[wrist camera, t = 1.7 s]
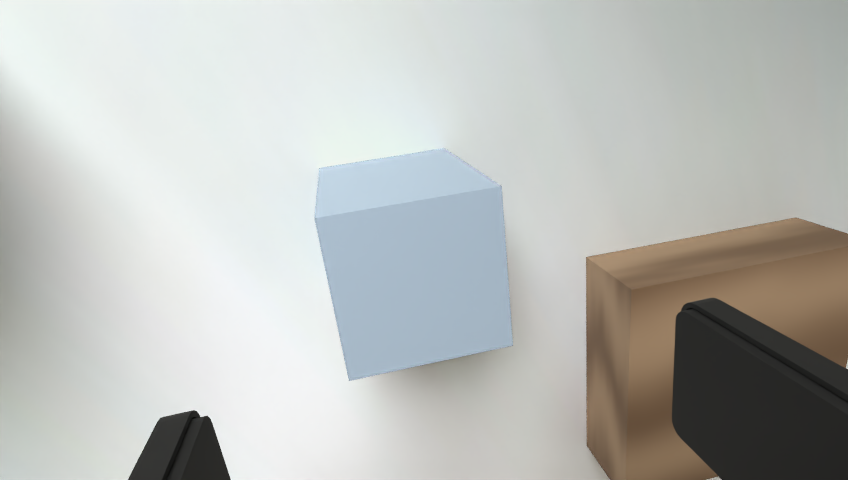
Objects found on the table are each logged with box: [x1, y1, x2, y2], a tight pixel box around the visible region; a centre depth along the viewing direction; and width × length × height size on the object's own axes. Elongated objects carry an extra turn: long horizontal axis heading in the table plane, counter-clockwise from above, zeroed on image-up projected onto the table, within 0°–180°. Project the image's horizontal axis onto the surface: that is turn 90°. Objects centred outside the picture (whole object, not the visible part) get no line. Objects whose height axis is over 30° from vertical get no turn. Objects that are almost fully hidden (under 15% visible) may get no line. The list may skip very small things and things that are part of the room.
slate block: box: [315, 148, 513, 381], centre depth 17 cm, size 5×5×7 cm
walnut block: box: [586, 218, 848, 480], centre depth 24 cm, size 11×11×4 cm
